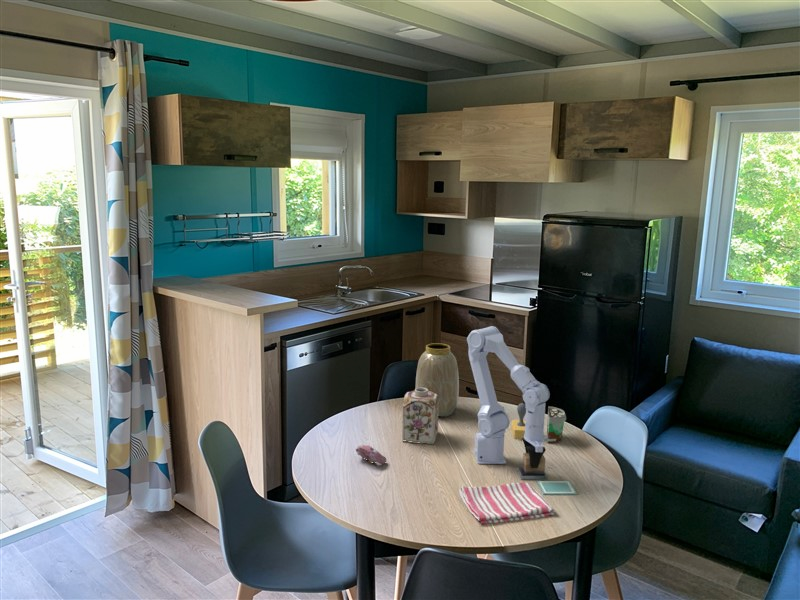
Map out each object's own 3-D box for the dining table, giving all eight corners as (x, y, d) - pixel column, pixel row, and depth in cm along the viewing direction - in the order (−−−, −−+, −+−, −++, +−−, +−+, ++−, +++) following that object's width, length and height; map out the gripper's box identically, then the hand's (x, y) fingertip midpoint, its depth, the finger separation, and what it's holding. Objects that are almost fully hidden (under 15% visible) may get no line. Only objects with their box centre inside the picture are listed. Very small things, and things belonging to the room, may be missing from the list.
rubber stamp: (530, 440, 220) (532, 408, 217) (514, 439, 220) (515, 407, 218) (526, 429, 229) (528, 398, 227) (511, 428, 230) (512, 398, 228)
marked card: (543, 494, 180) (543, 493, 180) (536, 481, 188) (536, 480, 188) (577, 494, 181) (577, 493, 180) (569, 481, 188) (569, 480, 188)
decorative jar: (438, 432, 225) (439, 385, 222) (434, 445, 214) (435, 395, 211) (406, 429, 227) (407, 383, 224) (401, 442, 216) (401, 393, 213)
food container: (565, 446, 214) (567, 419, 213) (547, 444, 216) (549, 417, 214) (563, 432, 226) (565, 407, 225) (546, 431, 228) (548, 405, 226)
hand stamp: (525, 473, 190) (526, 453, 189) (522, 467, 194) (523, 448, 193) (544, 473, 190) (545, 453, 189) (541, 467, 194) (542, 448, 193)
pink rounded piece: (358, 462, 204) (351, 447, 200) (367, 452, 206) (360, 437, 203) (379, 471, 197) (373, 456, 194) (388, 461, 200) (382, 446, 196)
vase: (466, 411, 247) (468, 346, 242) (439, 422, 235) (440, 354, 230) (434, 400, 258) (435, 338, 254) (406, 411, 246) (407, 346, 241)
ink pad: (521, 479, 190) (521, 475, 189) (517, 470, 195) (517, 466, 195) (546, 479, 190) (547, 475, 189) (542, 470, 196) (542, 466, 195)
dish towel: (457, 496, 180) (457, 485, 179) (530, 488, 185) (530, 477, 185) (478, 527, 163) (479, 515, 163) (557, 517, 169) (558, 505, 168)
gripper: (553, 432, 182) (551, 475, 185) (541, 414, 197) (539, 454, 199) (530, 432, 182) (528, 474, 185) (519, 414, 197) (517, 454, 199)
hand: (532, 464), depth 192 cm, fingers closed on hand stamp, 4 cm apart
